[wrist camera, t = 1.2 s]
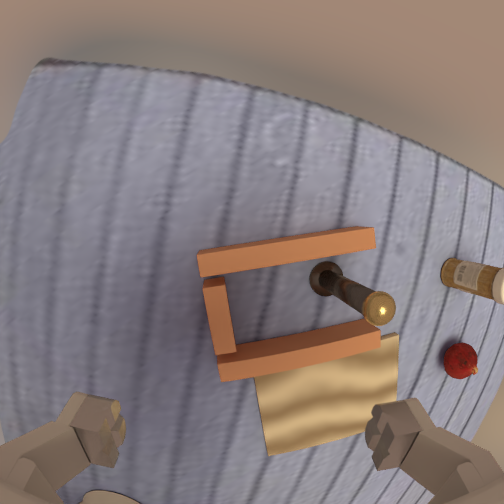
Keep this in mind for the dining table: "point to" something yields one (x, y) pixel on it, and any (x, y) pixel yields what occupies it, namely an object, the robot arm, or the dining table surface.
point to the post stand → (352, 293)
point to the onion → (460, 361)
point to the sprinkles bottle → (474, 278)
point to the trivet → (326, 398)
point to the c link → (292, 346)
